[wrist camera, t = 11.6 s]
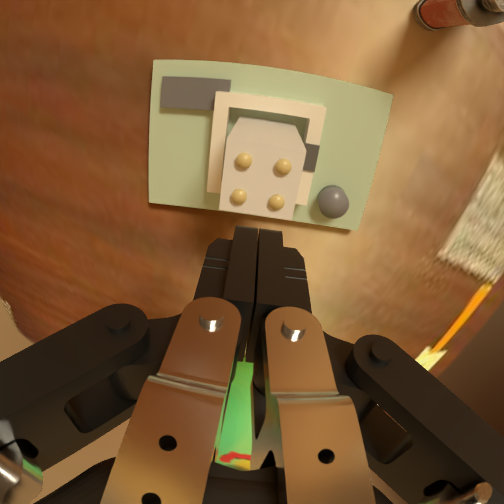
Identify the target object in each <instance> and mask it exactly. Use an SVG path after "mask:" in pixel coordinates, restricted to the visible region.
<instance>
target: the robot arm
mask: <svg viewBox="0 0 504 504" xmlns="http://www.w3.org/2000/svg"><path fill="white" fill-rule="evenodd" d="M257 238H258V241H257ZM246 342H247V345H246ZM245 348H246V359H245V362H249V363H253V376H252V380H251V384H250V395H251V424H252V451H251V460H250V471H240V470H236V469H233V468H230V467H227V466H225V465H222V464H219V463H216V461H217V456H218V450H219V444H220V439H221V434H222V429H223V424H224V419H225V414H226V409H227V404H228V399H229V394H230V389H231V384H232V382H233V380H234V378H235V374H236V368H237V362H238V361H239V362H243V359H244V353H245ZM377 404H378V405H379V406H380V407H381V408H382V409H383V410H384V411H385V412H387V413H388V414H389V415H390V416H391V417H392V418H393V419H394V420H395V421H397V423H399V424H400V425H401V426H402V427H403V428H404V429H405V430H406V431H407V432H406V431H405V430H403V429H402V428H401V427H400V426H399V425H398V424H397V423H396V422H395V421H394V420H393V419H392V418H391V417H389V416H388V415H387V414H386V413H385V412H384V411H383V410H382V409H381V408H380V407H379V406H378V405H377ZM130 417H131V418H130ZM129 418H130V421H129V424H128V427H127V429H126V432H125V435H124V437H123V440H122V443H121V445H120V448H119V451H118V454H117V456H116V457H114V458H110V459H108V460H104V461H102V462H100V463H98V464H96V465H94V466H92V467H90V468H89V469H87V470H86V471H84V472H83V473H81V474H80V475H78V476H77V477H76V478H74V479H72V480H71V481H69V482H68V483H66V484H64V485H63V486H61V487H60V488H58V489H57V490H55V491H54V492H52V493H50V494H49V495H47V496H46V497H44V498H42V499H40V500H39V501H37V502H36V503H34V504H393V503H392V502H391V501H390V500H389V499H388V498H387V497H386V496H385V495H384V494H383V493H382V492H381V491H380V490H378V489H377V488H376V487H374V486H373V485H372V481H371V476H370V471H369V468H370V469H371V470H372V471H374V472H375V473H376V474H377V475H378V476H379V477H380V478H381V479H382V480H383V481H384V482H385V483H386V484H387V485H388V486H389V487H391V488H392V489H393V490H394V491H395V492H396V493H397V494H398V495H399V496H400V497H402V498H403V499H404V500H405V501H406V502H407V503H408V504H504V438H503V437H502V436H501V435H500V434H499V433H498V432H496V430H494V429H493V428H492V427H491V426H490V425H489V424H487V422H485V421H484V420H483V419H482V418H481V417H480V416H479V415H478V414H476V413H475V412H474V411H473V410H472V409H471V408H470V407H469V406H467V405H466V404H465V403H464V402H463V401H462V400H460V399H459V398H458V397H457V396H456V395H455V394H454V393H452V392H451V391H450V390H449V389H448V388H447V387H446V386H444V385H443V384H442V383H441V382H440V381H439V380H437V379H436V378H435V377H434V376H433V375H432V374H431V373H429V372H428V371H427V370H426V369H425V368H424V367H422V366H421V365H420V364H419V363H418V362H417V361H415V360H414V359H413V358H412V357H411V356H410V355H408V354H407V353H406V352H405V351H404V350H402V349H401V348H400V347H399V346H398V345H397V344H395V343H394V342H393V341H391V340H390V339H388V338H386V337H383V336H380V335H366V336H363V337H361V338H359V339H358V340H357V342H356V343H355V344H352V343H349V342H346V341H343V340H340V339H337V338H334V337H332V336H330V335H328V334H327V333H325V332H324V331H323V330H322V326H321V324H320V322H319V321H318V319H317V318H316V317H315V316H314V315H312V311H311V303H310V296H309V289H308V283H307V276H306V271H305V263H304V258H303V257H302V256H301V254H300V253H299V252H298V250H297V249H296V248H288V247H283V236H282V231H275V230H268V229H259V234H258V228H252V227H245V226H237V225H236V227H235V233H234V238H233V240H227V239H220V238H217V239H216V240H215V241H214V242H213V243H212V244H210V245H209V246H208V250H207V253H206V257H205V260H204V264H203V267H202V271H201V274H200V278H199V281H198V285H197V288H196V292H195V296H194V299H193V301H192V302H190V303H189V304H187V305H186V307H185V308H184V310H183V312H182V313H181V314H179V315H176V316H173V317H169V318H161V319H150V320H147V317H146V315H145V314H144V312H143V311H142V310H140V309H139V308H137V307H135V306H133V305H129V304H113V305H110V306H107V307H105V308H103V309H101V310H99V311H97V312H95V313H93V314H91V315H89V316H87V317H85V318H83V319H81V320H79V321H77V322H75V323H73V324H71V325H70V326H68V327H66V328H64V329H62V330H60V331H58V332H56V333H54V334H52V335H50V336H48V337H47V338H45V339H43V340H41V341H39V342H37V343H35V344H33V345H31V346H30V347H28V348H26V349H24V350H22V351H20V352H18V353H16V354H14V355H13V356H11V357H9V358H7V359H5V360H3V361H1V362H0V504H29V503H30V501H32V500H33V499H34V498H35V497H36V496H37V495H38V494H39V493H40V492H41V491H42V485H43V475H42V472H43V471H45V470H46V469H48V468H50V467H51V466H53V465H55V464H57V463H58V462H60V461H62V460H63V459H65V458H67V457H69V456H70V455H72V454H74V453H75V452H77V451H78V450H80V449H81V448H83V447H85V446H87V445H88V444H90V443H92V442H93V441H95V440H96V439H98V438H99V437H101V436H103V435H104V434H105V433H107V432H109V431H111V430H112V429H113V428H115V427H117V426H118V425H120V424H121V423H123V422H124V421H126V420H127V419H129Z"/></svg>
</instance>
